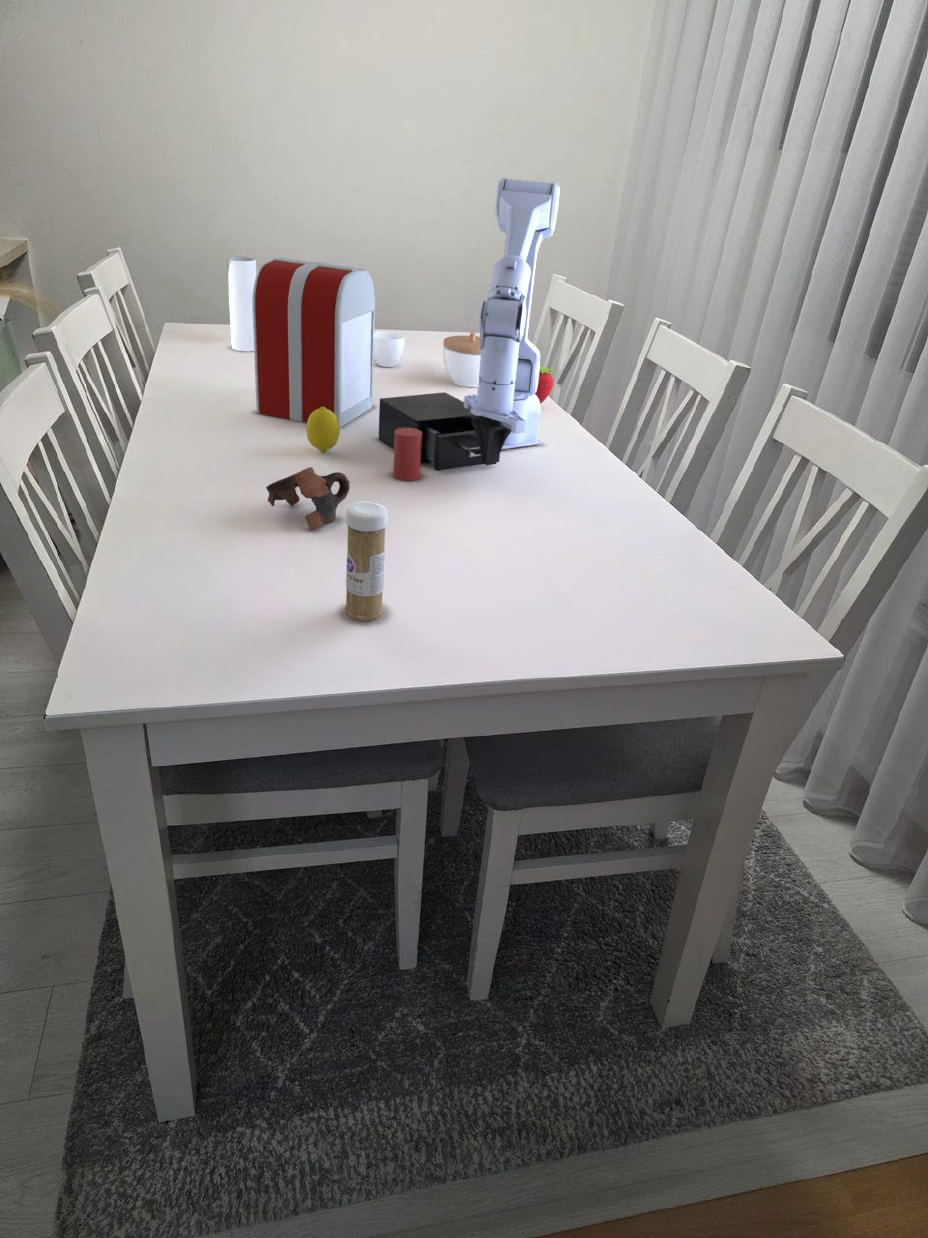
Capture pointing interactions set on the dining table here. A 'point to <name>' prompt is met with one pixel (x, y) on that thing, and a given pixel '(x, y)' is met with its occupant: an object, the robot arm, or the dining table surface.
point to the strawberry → (544, 384)
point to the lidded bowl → (463, 359)
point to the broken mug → (312, 494)
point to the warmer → (418, 413)
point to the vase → (241, 301)
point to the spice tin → (407, 454)
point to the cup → (388, 348)
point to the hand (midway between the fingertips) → (489, 463)
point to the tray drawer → (451, 445)
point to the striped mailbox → (313, 339)
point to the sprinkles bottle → (365, 560)
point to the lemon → (323, 429)
